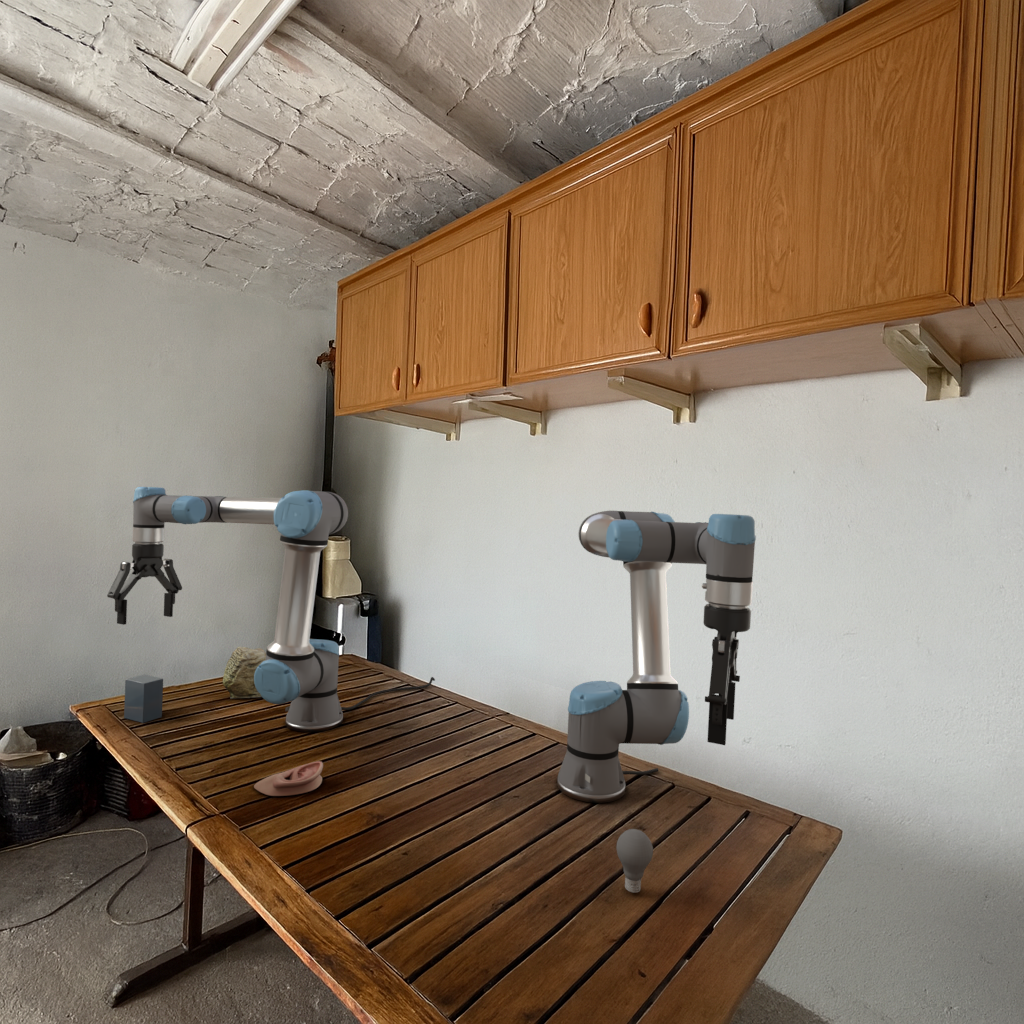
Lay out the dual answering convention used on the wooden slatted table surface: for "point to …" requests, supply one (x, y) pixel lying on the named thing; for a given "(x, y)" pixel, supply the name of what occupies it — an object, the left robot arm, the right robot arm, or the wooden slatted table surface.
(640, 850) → the light bulb
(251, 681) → the fossil
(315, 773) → the anatomical model
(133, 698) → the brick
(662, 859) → the wooden slatted table surface
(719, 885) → the wooden slatted table surface
